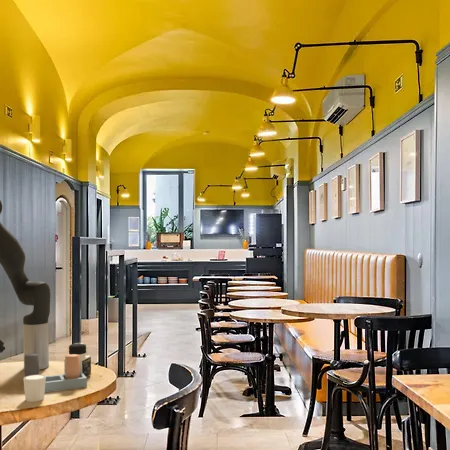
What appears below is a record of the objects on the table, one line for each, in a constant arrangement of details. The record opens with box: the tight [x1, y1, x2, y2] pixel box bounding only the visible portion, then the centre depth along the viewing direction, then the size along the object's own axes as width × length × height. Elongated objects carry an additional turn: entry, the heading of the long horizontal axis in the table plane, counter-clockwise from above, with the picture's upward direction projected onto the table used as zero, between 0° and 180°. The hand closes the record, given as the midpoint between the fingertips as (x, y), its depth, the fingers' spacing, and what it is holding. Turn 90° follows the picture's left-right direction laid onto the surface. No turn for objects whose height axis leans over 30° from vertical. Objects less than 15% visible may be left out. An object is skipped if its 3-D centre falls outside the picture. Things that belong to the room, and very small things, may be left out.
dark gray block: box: [23, 354, 40, 377], centre depth 200 cm, size 5×5×10 cm
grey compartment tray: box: [45, 354, 88, 393], centre depth 196 cm, size 9×15×10 cm, turn 114°
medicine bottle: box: [63, 342, 92, 378], centre depth 208 cm, size 7×7×12 cm
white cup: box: [22, 374, 47, 403], centre depth 182 cm, size 7×7×7 cm
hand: (2, 348), depth 196 cm, fingers open, 8 cm apart
